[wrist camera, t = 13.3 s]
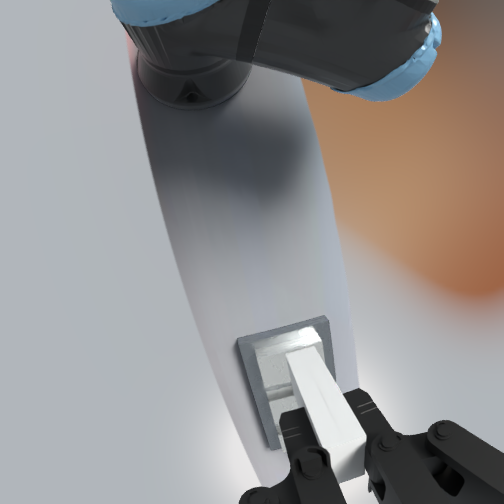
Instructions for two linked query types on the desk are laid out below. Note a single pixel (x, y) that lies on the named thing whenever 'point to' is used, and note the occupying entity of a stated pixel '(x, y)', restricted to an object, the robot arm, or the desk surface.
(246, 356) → the breaker panel
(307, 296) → the desk surface
